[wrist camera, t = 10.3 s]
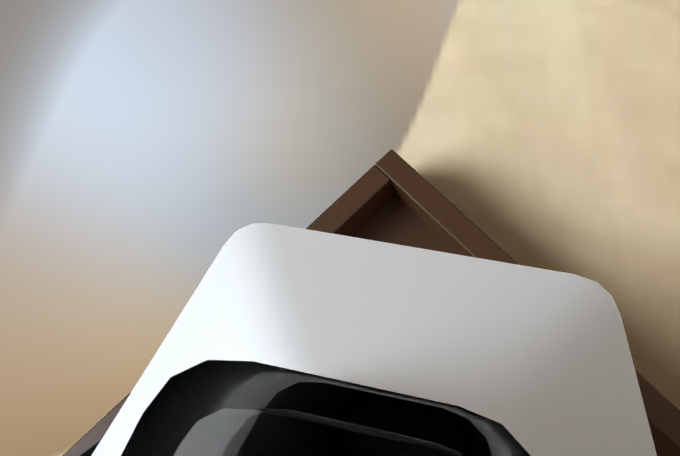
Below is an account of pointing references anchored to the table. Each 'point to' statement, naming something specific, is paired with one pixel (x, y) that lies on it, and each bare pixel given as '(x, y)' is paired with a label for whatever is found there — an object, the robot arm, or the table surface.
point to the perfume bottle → (384, 358)
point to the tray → (433, 234)
